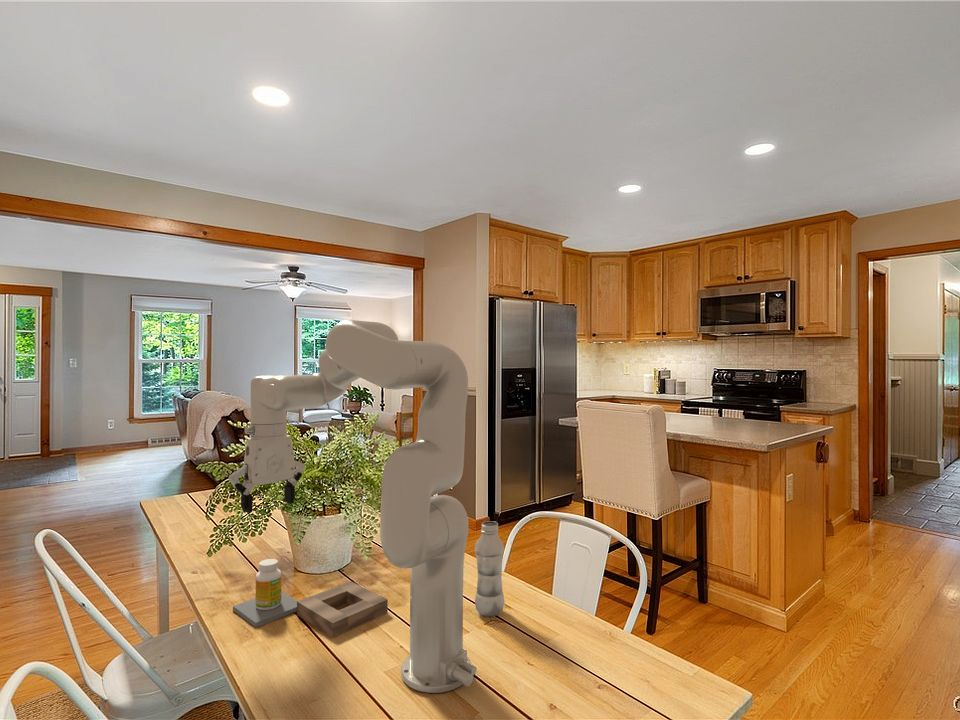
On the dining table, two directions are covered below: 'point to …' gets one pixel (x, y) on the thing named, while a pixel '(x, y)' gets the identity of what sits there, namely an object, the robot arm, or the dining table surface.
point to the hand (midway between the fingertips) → (268, 507)
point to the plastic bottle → (489, 571)
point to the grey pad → (265, 616)
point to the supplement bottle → (268, 585)
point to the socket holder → (336, 622)
